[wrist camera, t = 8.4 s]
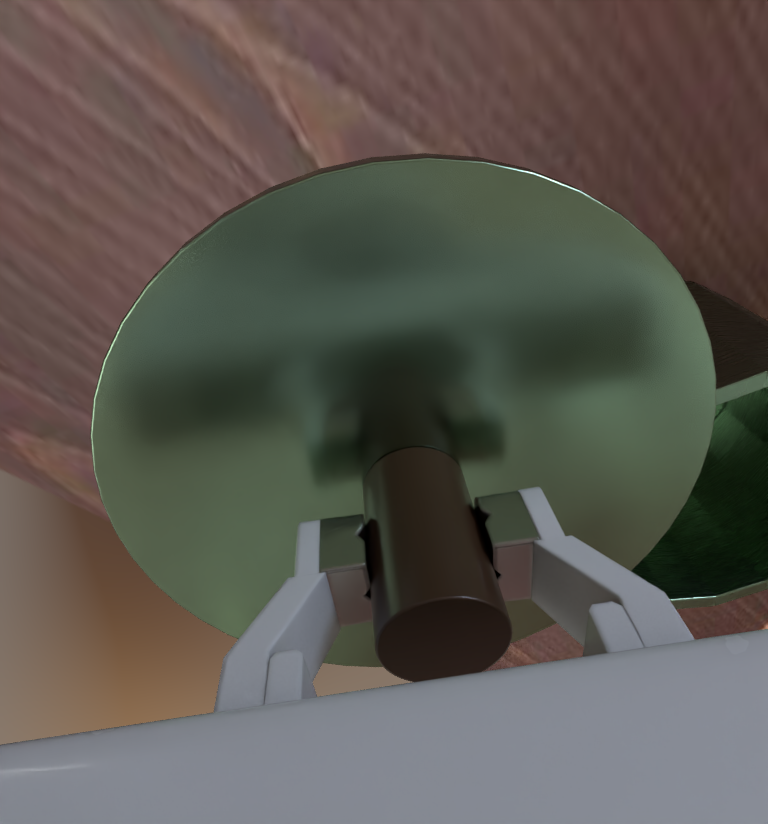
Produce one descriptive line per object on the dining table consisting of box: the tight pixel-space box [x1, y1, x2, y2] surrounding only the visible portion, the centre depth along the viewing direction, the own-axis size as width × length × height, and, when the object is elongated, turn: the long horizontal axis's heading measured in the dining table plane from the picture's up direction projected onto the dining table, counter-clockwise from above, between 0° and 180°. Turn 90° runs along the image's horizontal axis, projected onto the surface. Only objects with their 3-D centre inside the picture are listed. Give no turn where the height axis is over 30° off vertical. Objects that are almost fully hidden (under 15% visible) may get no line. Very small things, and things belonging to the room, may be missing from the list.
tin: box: [631, 281, 768, 609], centre depth 29 cm, size 14×14×10 cm
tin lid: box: [90, 153, 716, 682], centre depth 13 cm, size 15×15×6 cm
